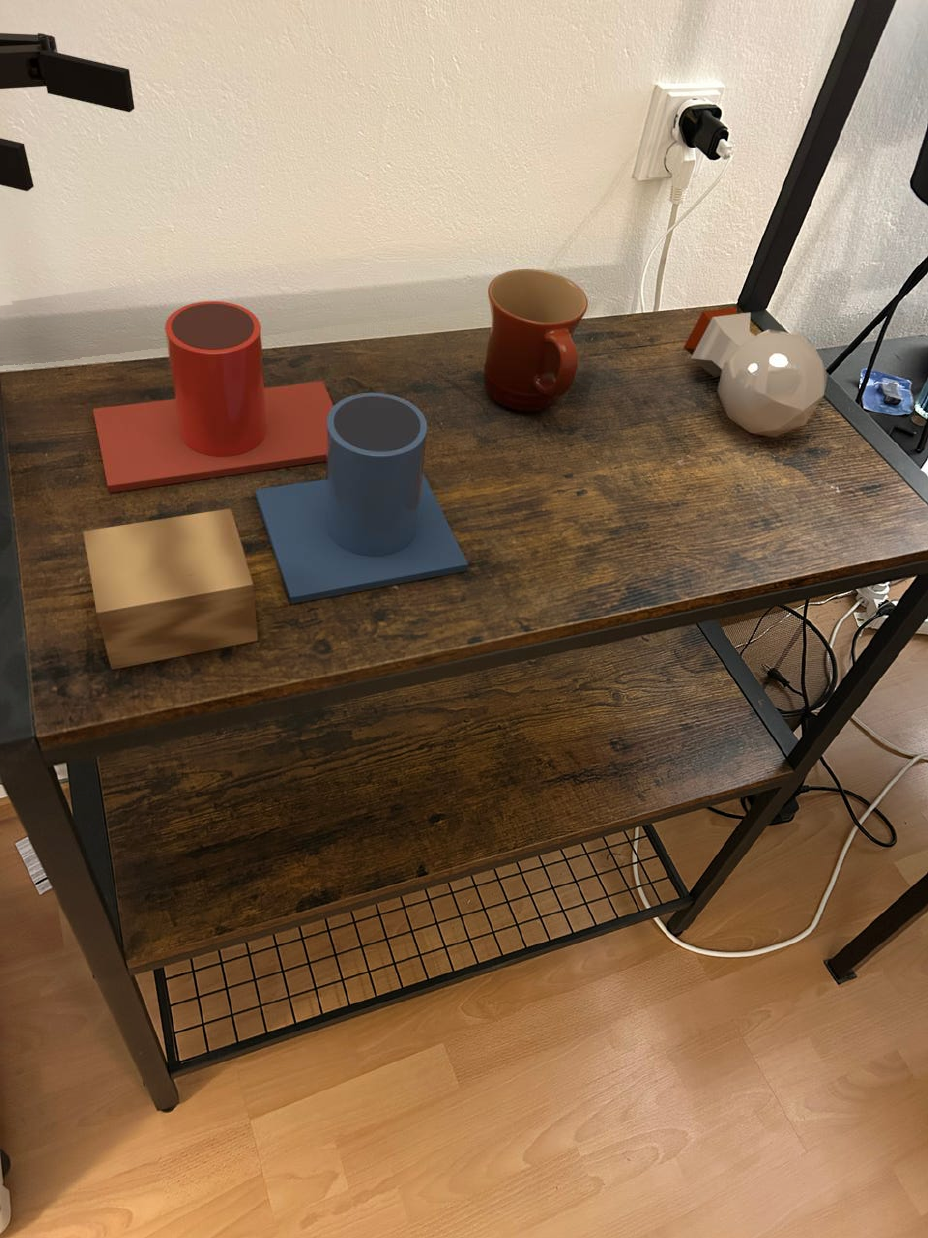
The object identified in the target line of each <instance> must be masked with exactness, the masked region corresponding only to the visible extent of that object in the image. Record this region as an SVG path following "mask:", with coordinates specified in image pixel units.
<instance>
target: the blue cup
mask: <svg viewBox="0 0 928 1238" xmlns="http://www.w3.org/2000/svg"><path fill="white" fill-rule="evenodd" d="M333 406H334V407H333V408H332V409H331V410H330V412H329V414H328V417H327V433H326V461H325V463H326V464H325V465H326V466H325V467H326V468H325V470H326V471H325V473H326V474H325V475H326V476H325V477H326V478H325V479H326V527H327V531H328V533H329V535H330V536H331V538H332V539H333V540H334V541H335V542H336V543H337V544H338V545H339V546H340V547H342V548H344V549H345V550H347V551H349V552H352V553H355V554H359V555H364V556H385V555H389V554H393V553H395V552H398V551H400V550H402V549H403V548H405V547H406V546H407V545H408V544H410V542H411V541H412V540H413V538H414V537H415V534H416V531H417V525H418V515H419V505H420V495H421V486H422V476H423V473H424V466H425V455H426V447H427V446H426V445H427V436H428V422H427V419H426V416H425V415H424V414H423V412H422V411H421V410H420V409H419V408H418V407H417V406H416V405H414V404H413V403H412V402H410V401H408V400H406V399H404V398H402V397H399V396H396V395H393V394H389V393H383V392H365V393H364V392H363V393H357V394H354V395H350V396H348V397H345V398H343V399H341V400H339V401H338V402H337V403H336V404H334V405H333Z"/></svg>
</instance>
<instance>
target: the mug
mask: <svg viewBox="0 0 928 1238" xmlns="http://www.w3.org/2000/svg"><path fill="white" fill-rule="evenodd" d="M487 295H488V301H489V306H490V307H489V308H490V313H491V327H490V334H489V336H488V337H489V338H488V342H487V348H486V354H485V361H484V364H483V371H484V388H485V390H486V392H487V394H488V395H489V397H490V398H491V399H492V400H493V401H495V402H496V403H498V404H499V405H501V406H502V407H505V408H507V409H510V410H513V411H516V412H535V411H539V410H543V409H545V408H548V407H549V406H550V405H551V404H553V403H554V402H555V400H556V399H557V397H562V396H564V395H565V394H566V393H567V392H568V391H569V390H570V389H571V387H572V385H573V383H574V381H575V378H576V374H577V370H578V365H579V352H578V349H577V346H576V343H575V342H574V340H573V335H574V333H575V331H576V330H577V327H578V325H579V323H580V322H581V321H582V319H583V317H584V315H585V314H586V312H587V310H588V305H589V302H588V301H589V300H588V298H587V295H586V294H585V292H584V290H583V289H582V288H581V287H580V286H579V285H577V284H576V283H575V282H574V281H573V280H571V279H569V278H567V277H565V276H563V275H561V274H557V273H555V272H552V271H547V270H542V269H535V268H521V269H520V268H518V269H512V270H507V271H505V272H502V273H500V274H498V275H497V276H495V277H494V278H493V279H492V280H491V281H490V283H489V285H488V289H487Z"/></svg>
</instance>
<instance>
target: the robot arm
mask: <svg viewBox="0 0 928 1238" xmlns="http://www.w3.org/2000/svg"><path fill="white" fill-rule="evenodd" d="M42 87H43V88H44V87H46V91H47V92H46V93H47V94H50V95H54V96H58V97H63V98H66V99H71V100H73V101H74V100H75V101H78V102H84V103H87V104H92V105H97V106H100V107H105V108H109V109H113V110H118V111H122V112H126V113H131V112H132V111H134V110H135V109H136V107H135V102H134V101H135V100H134V94H133V87H132V81H131V73H130V69H129V68H126V67H121V66H116V65H112V64H109V63H103V62H100V61H96V60H91V59H86V58H82V57H78V56H73V55H69V54H65V53H60V52H58V47H57V41H56V37H55V36H53V35H49V34H45V33H40V32H38V33H37V34H33V33H29V34H28V33H13V32H12V33H8V32H0V90H10V89H12V90H13V89H25V88H27V89H29V88H42ZM0 186H4V187H6V188H7V187H8V188H12V189H16V190H20V191H24V192H29V191H30V190H32V189H33V188H34V187H35V186H34V182H33V177H32V173H31V168H30V164H29V160H28V156H27V150H26V146H25V143H22V142H19V141H14V140H9V139H5V138H1V137H0Z"/></svg>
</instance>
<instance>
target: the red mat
mask: <svg viewBox="0 0 928 1238" xmlns="http://www.w3.org/2000/svg"><path fill="white" fill-rule="evenodd" d="M264 396H265V414H266V434H265V436H264V438H263V440H262V441H261V442H260V443H259V444H258V445H257V446H256V447H254V448H253V449H251V450H249V451H247V452H245V453H242V454H238V455H233V456H211V455H206V454H202V453H200V452H197V451H195V450H193V449H192V448H190V447H189V446H188V445H186V444H185V442H184V441H183V440H182V438H181V436H180V432H179V425H178V418H177V411H176V404H175V398H172V399H164V400H155V401H147V402H138V403H130V404H121V405H113V406H104V407H98V408H96V407H95V408H93V409H92V413H93V419H94V423H95V427H96V433H97V439H98V443H99V450H100V453H101V454H100V455H101V459H102V463H103V464H102V465H103V469H104V475H105V480H106V486H107V489H108V493H111V494H112V493H119V492H127V491H132V490H138V489H145V488H152V487H160V486H167V485H172V484H181V483H187V482H194V481H200V480H207V479H214V478H221V477H228V476H234V475H241V474H247V473H254V472H262V471H263V472H264V471H268V470H269V471H270V470H276V469H284V468H289V467H296V466H303V465H304V466H305V465H309V464H310V465H311V464H317V463H323V462H326V433H327V417H328V414H329V412H330V410H331V409H332V408H333V407H334V406H335V405H334V404H333V401H332V399H331V397H330V394H329V392H328V389H327V388H326V385H325V383H324V381H323V380H321V381H313V382H304V383H296V384H288V385H287V384H286V385H280V386H279V385H277V386H271V387H264Z"/></svg>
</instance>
